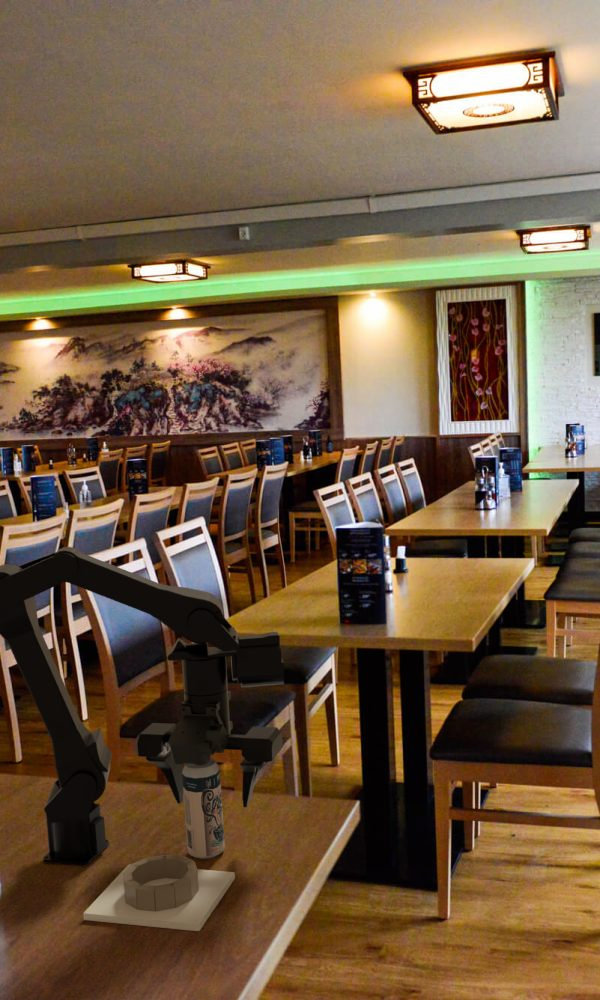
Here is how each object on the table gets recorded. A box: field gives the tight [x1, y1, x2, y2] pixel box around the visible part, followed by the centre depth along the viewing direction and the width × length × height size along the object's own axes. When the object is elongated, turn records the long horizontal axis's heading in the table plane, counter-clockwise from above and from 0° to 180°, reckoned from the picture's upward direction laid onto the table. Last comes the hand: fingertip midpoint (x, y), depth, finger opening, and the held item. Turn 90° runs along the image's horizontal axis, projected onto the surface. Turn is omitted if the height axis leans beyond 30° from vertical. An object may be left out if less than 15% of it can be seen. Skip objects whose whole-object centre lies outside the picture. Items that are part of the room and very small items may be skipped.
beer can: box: [182, 757, 226, 860], centre depth 125 cm, size 5×5×12 cm
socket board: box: [83, 854, 236, 932], centre depth 114 cm, size 14×12×3 cm
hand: (212, 804), depth 129 cm, fingers open, 9 cm apart
